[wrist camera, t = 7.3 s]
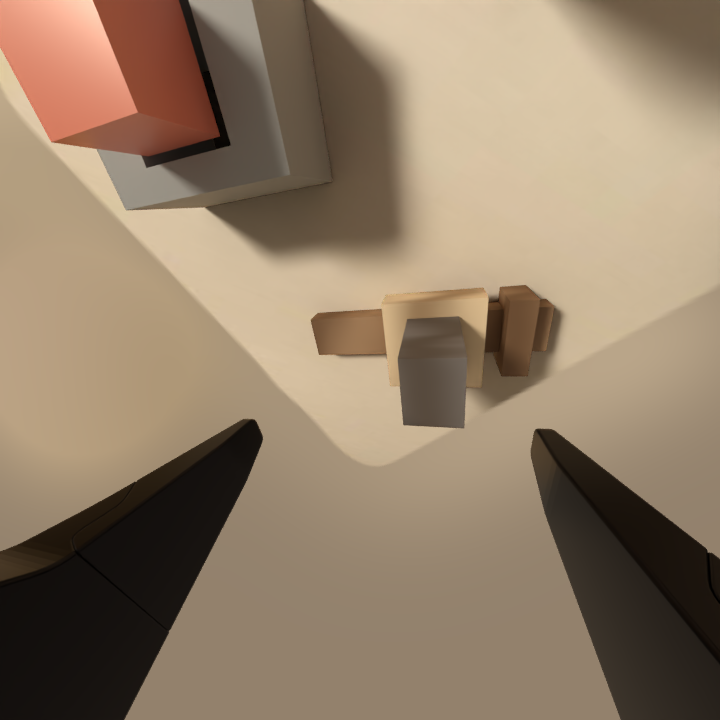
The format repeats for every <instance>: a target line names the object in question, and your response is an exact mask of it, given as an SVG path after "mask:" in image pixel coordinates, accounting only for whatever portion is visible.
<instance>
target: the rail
mask: <svg viewBox="0 0 720 720" xmlns="http://www.w3.org/2000/svg"><path fill="white" fill-rule="evenodd" d="M553 312H554V306H553V305H552V304H551V303H550V302H549V301H548V300H547V299H539V298H538V297H537V296H536V295H535V294H534V293H533V292H532V291H531V290H530V289H529V288H528V287H527V286H526V285H521V286H508V287H500V291H499V302H489V303H488V312H487V324H486V337H485V350H484V352H494V353H493V355H494V357H495V360H496V363H497V365H498V368H499V371H500V374H501V376H528V371H529V365H530V359H531V353H532V351H546V348H547V343H548V337H549V332H550V327H551V322H552V317H553ZM311 323H312V328H313V332H314V336H315V340H316V344H317V348H318V352H319V355H339V354H387V352H386V343H385V334H384V325H383V316H382V309H376V310H360V311H343V312H327V313H317V314H316V315H315V316H314V317H313V318H312V319H311Z"/></svg>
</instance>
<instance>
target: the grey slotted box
mask: <svg viewBox="0 0 720 720" xmlns="http://www.w3.org/2000/svg"><path fill="white" fill-rule="evenodd" d="M179 2H180V6H181V9H182V12H183V15H184V19H185V22H186V25H187V29H188V32H189V35H190V38H191V42H192V45H193V48H194V52H195V55H196V58H197V61H198V65H199V68H200V71H201V73H203V72H206V71H208V70H209V72H210V75H211V79H212V82H213V85H214V89H215V92H216V96H217V99H218V102H219V106H220V109H221V113H222V116H223V119H224V123H225V126H226V130H227V133H228V137H229V140H230V143H231V146H227V147H224V148H220V149H216V147H215V144H214V140H213V138H212V139H209V140H205V141H202V142H198V143H195V144H191V145H187V146H184V147H180V148H177V149H173V150H170V151H166V152H163V153H159V154H155V155H152V156H142V155H135V154H129V153H122V152H115V151H108V150H101V149H97V151H98V153H99V155H100V157H101V159H102V162H103V164H104V166H105V168H106V170H107V172H108V174H109V176H110V178H111V180H112V182H113V184H114V186H115V188H116V191H117V193H118V195H119V197H120V199H121V201H122V203H123V205H124V207H125V209H126V210H147V209H174V208H200V207H208V206H213V205H218V204H223V203H228V202H233V201H238V200H243V199H248V198H253V197H258V196H263V195H268V194H273V193H278V192H283V191H288V190H293V189H298V188H304V187H309V186H314V185H319V184H324V183H329V182H333V180H332V174H331V168H330V162H329V156H328V149H327V143H326V137H325V131H324V124H323V118H322V112H321V106H320V100H319V93H318V87H317V81H316V75H315V69H314V62H313V56H312V50H311V44H310V38H309V31H308V25H307V19H306V13H305V6H304V0H179Z"/></svg>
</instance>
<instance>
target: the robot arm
mask: <svg viewBox="0 0 720 720" xmlns="http://www.w3.org/2000/svg"><path fill="white" fill-rule="evenodd" d="M262 440H263V436H262V433H261V431H260V429H259V426H258V424H257V422H256V421H255V420H254V419H243V420H241V421H239V422H237V423H236V424H234V425H232V426H231V427H229V428H227V429H225V430H224V431H222V432H220V433H218V434H217V435H215V436H213V437H211V438H210V439H208V440H206V441H205V442H203V443H201V444H199V445H198V446H196V447H194V448H192V449H191V450H189V451H187V452H186V453H184V454H182V455H180V456H179V457H177V458H175V459H174V460H172V461H170V462H168V463H166V464H165V465H163V466H161V467H160V468H158V469H156V470H154V471H153V472H151V473H150V474H147V475H146V476H144V477H142V478H141V479H139V480H137V482H134V483H132V484H130V485H128V486H127V487H125V488H123V489H121V490H120V491H118V492H116V493H115V494H113V495H111V496H109V497H107V498H105V499H104V500H102V501H100V502H98V503H96V504H94V505H93V506H91V507H89V508H87V509H85V510H83V511H81V512H80V513H78V514H76V515H74V516H72V517H70V518H68V519H66V520H64V521H62V522H60V523H59V524H57V525H55V526H53V527H51V528H49V529H47V530H45V531H43V532H41V533H40V534H38V535H36V536H34V537H32V538H30V539H28V540H26V541H24V542H22V543H20V544H18V545H16V546H13V547H11V548H8V549H6V550H3V551H0V720H124V719H125V717H126V715H127V714H128V712H129V710H130V708H131V706H132V704H133V702H134V700H135V698H136V696H137V694H138V692H139V690H140V688H141V686H142V684H143V682H144V680H145V678H146V676H147V675H148V672H149V671H150V669H151V667H152V665H153V663H154V661H155V659H156V657H157V655H158V653H159V651H160V649H161V647H162V645H163V643H164V641H165V639H166V637H167V635H168V634H169V630H170V629H171V627H172V625H173V623H174V621H175V620H176V618H177V616H178V614H179V612H180V610H181V608H182V606H183V604H184V602H185V600H186V598H187V596H188V594H189V592H190V590H191V588H192V586H193V585H194V583H195V581H196V579H197V577H198V575H199V573H200V571H201V569H202V567H203V565H204V563H205V561H206V559H207V557H208V555H209V553H210V551H211V549H212V547H213V546H214V543H215V542H216V540H217V538H218V536H219V534H220V532H221V530H222V528H223V526H224V524H225V522H226V520H227V518H228V516H229V514H230V513H231V511H232V509H233V507H234V505H235V503H236V501H237V499H238V497H239V495H240V493H241V491H242V489H243V487H244V485H245V483H246V481H247V479H248V476H249V474H250V471H251V469H252V466H253V464H254V462H255V459H256V456H257V454H258V452H259V449H260V447H261V444H262ZM531 459H532V463H533V467H534V471H535V475H536V479H537V483H538V487H539V491H540V495H541V500H542V504H543V507H544V511H545V515H546V517H547V521H548V523H549V526H550V529H551V532H552V534H553V537H554V540H555V543H556V545H557V548H558V551H559V553H560V556H561V559H562V562H563V564H564V567H565V570H566V572H567V575H568V578H569V580H570V583H571V586H572V588H573V591H574V594H575V597H576V599H577V602H578V605H579V608H580V610H581V613H582V616H583V618H584V621H585V624H586V626H587V629H588V632H589V635H590V637H591V640H592V643H593V646H594V648H595V651H596V654H597V656H598V659H599V662H600V664H601V667H602V670H603V672H604V675H605V678H606V681H607V683H608V686H609V689H610V692H611V694H612V697H613V700H614V702H615V705H616V708H617V710H618V713H619V716H620V719H621V720H720V559H719V558H718V557H717V556H715V555H714V554H713V553H708V552H707V549H706V548H705V547H704V546H702V545H701V544H700V543H699V542H697V541H696V540H695V539H693V538H692V537H691V536H689V535H688V534H687V533H686V532H684V531H683V530H682V529H680V528H679V527H678V526H677V525H675V524H674V523H673V522H672V521H670V520H669V519H668V518H666V517H665V516H664V515H663V514H661V513H660V512H659V511H657V510H656V509H655V508H654V507H652V506H651V505H650V504H648V503H647V502H646V501H645V500H643V499H642V498H641V497H639V496H638V495H637V494H636V493H634V492H633V491H632V490H630V489H629V488H628V487H627V486H625V485H624V484H623V483H621V482H620V481H619V480H618V479H616V478H615V477H614V476H612V475H611V474H610V473H609V472H607V471H606V470H605V469H603V468H602V467H601V466H599V465H598V464H597V463H596V462H594V461H593V460H592V459H591V458H589V457H588V456H587V455H585V454H584V453H583V452H582V451H580V450H579V449H578V448H576V447H575V446H574V445H573V444H571V443H570V442H569V441H567V440H566V439H565V438H564V437H562V436H561V435H560V434H558V433H557V432H556V431H554V430H552V429H536V430H535V431H534V435H533V441H532V447H531Z"/></svg>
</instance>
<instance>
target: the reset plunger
mask: <svg viewBox="0 0 720 720" xmlns="http://www.w3.org/2000/svg"><path fill="white" fill-rule="evenodd" d="M0 48H1V50H2V51H3V53H4V55H5V57H6V59H7V61H8V62H9V64H10V66H11V68H12V70H13V72H14V74H15V75H16V77H17V79H18V81H19V83H20V85H21V87H22V88H23V90H24V92H25V94H26V96H27V98H28V100H29V101H30V103H31V105H32V107H33V109H34V111H35V113H36V114H37V116H38V118H39V120H40V122H41V124H42V126H43V127H44V129H45V131H46V133H47V135H48V137H49V139H50V140H51V142H54V143H61V144H67V145H74V146H81V147H88V148H95V149H101V150H108V151H115V152H122V153H129V154H135V155H142V156H152V155H155V154H159V153H163V152H166V151H170V150H173V149H177V148H180V147H184V146H187V145H191V144H195V143H198V142H202V141H205V140H209V139H212V138H216V137H220V134H219V130H218V127H217V124H216V121H215V117H214V114H213V111H212V107H211V104H210V101H209V98H208V94H207V91H206V88H205V84H204V81H203V78H202V75H201V71H200V68H199V65H198V61H197V58H196V55H195V52H194V48H193V45H192V42H191V38H190V35H189V32H188V29H187V25H186V22H185V19H184V15H183V12H182V9H181V6H180V2H179V0H0Z"/></svg>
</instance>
